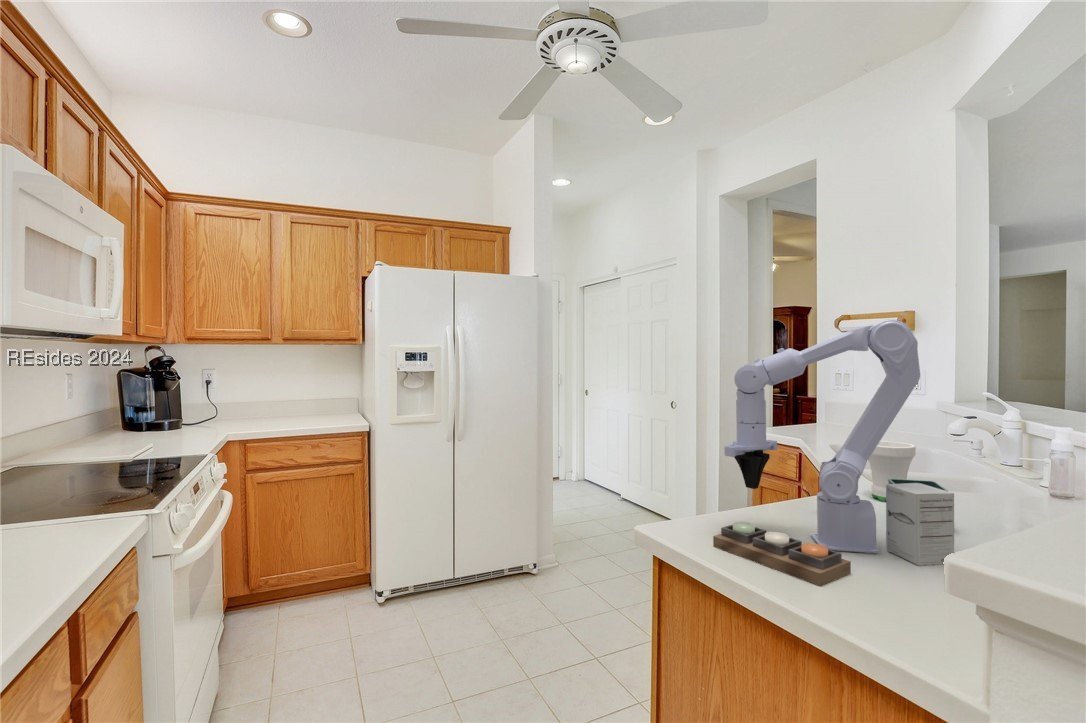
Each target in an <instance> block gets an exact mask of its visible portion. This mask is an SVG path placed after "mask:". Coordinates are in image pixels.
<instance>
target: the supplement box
mask: <svg viewBox="0 0 1086 723" xmlns="http://www.w3.org/2000/svg"><path fill="white" fill-rule="evenodd" d="M885 503H886V504H885V514H886V515H885V516H886V520H885V525H886V526H885V528H886V531H885V532H886V535H885V536H886V538H885V539H886V540H885V541H886V551H887V552H890V553H892V554H894V555H896V556H898V557H900V558H902V559H905V560H906V561H908V562H910V563H912V564H914V565H916V566H938V565H939V564H940V565H944V564H943V562H944V558H945V557H946V556H947V555H949V554H951V553H954V554H955V493H954V492H952V491H949V490H948V491H945V490H941V489H938V488H935V487H931V486H928V485H924V484H921V483H903V484H886V501H885Z"/></svg>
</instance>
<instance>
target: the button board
mask: <svg viewBox="0 0 1086 723" xmlns="http://www.w3.org/2000/svg"><path fill="white" fill-rule="evenodd" d="M720 529H721V531H720V533H719V534H716V535H713V536H712V538H713V540H712V544H713V547H714V548H716V549H719V550H721V551H725V552H728V553H729V554H733V555H736V556H738V557H740V558H744V559H746V560H749V561H751V560H752V561H751V562H754V561H755V562H754V563H757V562H758V563H757V564H759V563H760V564H759V565H762V564H763V566H765V565H766V566H765V567H767V566H768V568H770V567H771V569H773V568H774V569H773V570H776V571H778V572H780V573H781V572H782V573H784V574H786V575H789V576H792V577H794V576H795V578H797V579H800V580H802V579H803V581H805V580H806V582H808V581H809V583H810V582H812V583H811V584H813V583H814V584H813V585H816V584H817V585H816V586H818V585H819V587H821V585H822V586H824V585H826V583H827V584H828V583H831V582H833V580H834V581H835V579H836V580H839V579H841V578H843V577H845V575H846V576H848V575H851V574H852V572H851V571H852V569H851V567H852V565H851V560H848V559H844V558H843V554H842V553H841V552H840V551H837V550H829V549H828V556H826V557H824V558H821V559H820V558H817V557H814V556H811V555H807V554H804V553H802V552H801V545H802V544H803V543H802V540H800V539H796V538H793V537H790V536H789V543H788V544H785V545H782V546H780V545H777V544H774V543H771V542H768V541H765V533H767V532H768V530H767V529H763V528H761V527H757V526H755V532H754V533H750V534H747V535H746V534H743V533H740V532H737V531H734V530H733V524H730V525H727V526H722V527H721V528H720ZM840 577H841V578H840Z"/></svg>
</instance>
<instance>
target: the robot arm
mask: <svg viewBox="0 0 1086 723" xmlns="http://www.w3.org/2000/svg"><path fill="white" fill-rule="evenodd" d="M918 344H919V342H918V339H917V337H916V336H915V335H914V333H913V332H912V329H911V328H910V327H909V326H908V325H907V324H906V323H905V322H903V321H900V320H897V319H887V320H883V321H881V322H879V323H877V324H876V325H874V324H870V325H865V326H862V327H858V328H855V329H851V330H847V331H846V332H843V333H840V334H837V335H836V336H833V337H831V338H828V339H827V340H823V341H821V342H819V343H816V344H813V345H812V346H810V347H808V348H804V349H803V350H800V351H799V350H797V349H794V348H790V347H789V348H786V349H785V348H783V347H781V348H778V349H776V352H777V353H774V354H771V355H770V356H767V357H764V358H762V359H760V358H756V359H754V360H753V362H754V364H752V363H751V364H748V363H747V364H744V365H743V366H741V367H739V368H738V369H737V371H736V372H735V374H734V378H733V380H734V384H735V386H736V387H737V389H736V402H735V403H736V406H735V408H736V411H735V414H736V415H735V416H736V440H735V441H732V443H731V444H729V445H725V446H724V449H723V450H724V457H730V458H731V457H732V458H734V459H735V461H736V462H737V464H738V466H739V469H740V471H741V474H742V478H743V481H744V485H745V487H746V488H748V489H751V490H755V489H756V490H757V489H759V486H760V483H761V479H762V475H763V472H764V469H765V467H766V466H767V463H768V462H769V460H770V454H769V453H765V451H771V450H772V451H777V450H778V441H777V440H771V439H767V410H766V409H767V400H766V399H765V398H766V397H765V387H766V385H767V386H771V387H772V386H775V385H777V384H780V383H782V382H785V381H789V380H791V379H793V378H797V377H799V376H801V375H803V374H804V373H805V370H806V369H807V366H808V365H811V364H814V363H816V362H817V363H818V362H820V361H823V360H825V359H829V358H831V357H833V356H837V355H839V354H842V353H845V352H848V351H853V352H854V351H857V352H867V351H869V350H870V351H871V352H872V353H873V354H874V355H875V356H876V357H877V359H879V361H880V364H881V366H882V369H883V371H884V373H885V378H884V379H883V380H882V383H881V384H880V385H879V387H878V388H877V390H876V392H875V393H874V394H873V396H872V398H871V399H870V402H869V403H868V404H867V407H866V408H865V410H864V411H863V413H862V414H861V416H860V418H859V419H858V421H857V423H856V424H855V425H854V427H853V429H852V430H851V431H850V434H849V435H848V437H847V438H846V440H845V441H844V443H843V445H842V446H841V447H840V448H839V449H838V451H837V452H836V453H835V455H834V456H833V458H832V459H829V460H828V461H825V462H826V463H825V464H823V466H822V467H821V466H820V467H821V469H820V468H819V474H818V476H819V477H818V478H819V482H818V484H819V485H818V486H819V488H820V491H819V492H817V493H816V517H817V519H816V520H817V521H816V522H817V523H816V524H817V526H816V527H817V528H816V529H817V533H811V534H810V537H811V538H812V540H814V541H815V544H820V545H823V546H825V547H827V548H828V549H829V550H832V551H836V552H852V553H853V552H855V553H867V554H870V553H871V554H878V553H879V550H878V549H877V517H876V516H877V515H876V510H875V507H874V505H873V503H872V502H871V501H870V500H866V499H861V498H860V496H859V495H857V494H858V489H859V480H860V478H861V476H862V475H863V473H864V471H865V468H866V465H867V462H868V459H869V457H870V456H871V454H872V453H873V451H874V450H875V448H876V446H877V445H878V443H879V442H880V441H882V439H883V437H884V435H885V434H886V432H887V431H888V430H889V428H890V427H891V425H892V423H893V422H894V421H895V420H894V419H895V418H896V417H897V415H898V414H899V412H900V410H901V409H902V407H903V406H904V405H905V404H906V401H907V400H908V399H909V397H910V395H911V394H912V392H913V390H914V389H915V387H916V386H917V384H918V383H919V380H920V379H921V370H920V369H921V368H920V359H919V353H918Z"/></svg>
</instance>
